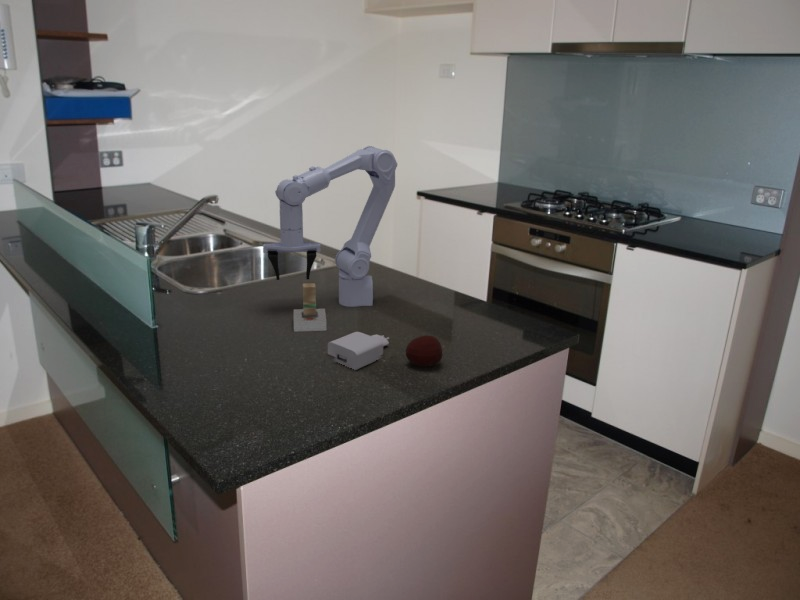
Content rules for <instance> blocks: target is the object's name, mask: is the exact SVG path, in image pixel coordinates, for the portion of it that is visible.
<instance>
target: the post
mask: <svg viewBox="0 0 800 600" xmlns="http://www.w3.org/2000/svg"><path fill="white" fill-rule="evenodd" d="M316 295H317V294H316V282H315V283H314V282H313V283H312V282H311V283H302V309H304V315H316V309H317V300H316V298H317V297H316Z"/></svg>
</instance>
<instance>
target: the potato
mask: <svg viewBox="0 0 800 600" xmlns="http://www.w3.org/2000/svg"><path fill="white" fill-rule="evenodd" d="M405 356H406V358H407V360H408V361H409V362H410V363H412V364H414V365H416V366H418V367H425V368H426V367H432V366H435V365H437V364H439V363H440V362H441V360H442V357H443V347H442V345H441V342H440V340H439V339H438V338H436V337H435V336H433V335H428V334H427V335H421V336H418V337H416V338H414V339H412V340H411V341H410V342H408V344H407V346H406V348H405Z"/></svg>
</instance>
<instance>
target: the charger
mask: <svg viewBox="0 0 800 600" xmlns="http://www.w3.org/2000/svg"><path fill="white" fill-rule="evenodd" d="M389 339H390V337H389V336H388V337H385V335H384V334H383V335H379V334H377V333H376V334H372V335H370V334H366V333H363V332H360V331H354V332H352V333H349V334H347V335H344V336H342V337H339V338H337V339H334V340H331V341H329V342H328V343H327V355H329V356H331V357H328V360H329V359H330V360H329V361H332V362H334V361H335V362H334V363H336V362H338V363H337V364H339V363H340V364H339V365H341V364H342V365H341V366H343V365H345V366H344V367H346V366H347V368H348V367H349V369H350V368H352V369H351V370H353V369H354V370H353V371H357V370H359V369H361V368H364V367H365V366H367V365H370V364H372V363H374V362H376V360H377V361H379V360H380V359H384V356H383V355H384V347H385V346H389V344H390V342H389Z"/></svg>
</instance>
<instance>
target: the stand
mask: <svg viewBox="0 0 800 600" xmlns="http://www.w3.org/2000/svg"><path fill="white" fill-rule="evenodd" d="M326 315H327V314H326V308H316V315H304V309H303V308H302V309H301V308H299V309H295V308H294V309H293V332H298V333H299V332H325V331H326V332H327V316H326Z"/></svg>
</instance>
